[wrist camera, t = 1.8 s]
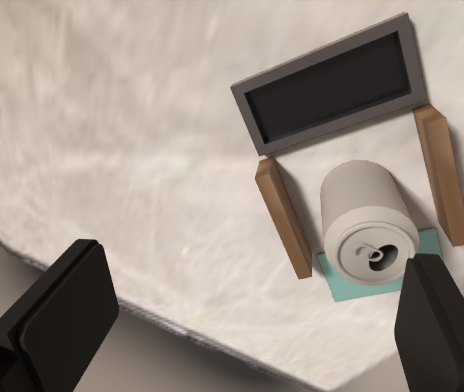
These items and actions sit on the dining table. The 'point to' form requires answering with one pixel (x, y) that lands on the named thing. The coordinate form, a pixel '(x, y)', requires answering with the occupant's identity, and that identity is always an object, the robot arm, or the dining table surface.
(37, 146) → the dining table surface
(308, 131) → the tray
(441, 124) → the wooden corridor walls
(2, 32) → the dining table surface
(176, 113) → the dining table surface
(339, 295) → the pad
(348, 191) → the can
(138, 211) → the dining table surface
